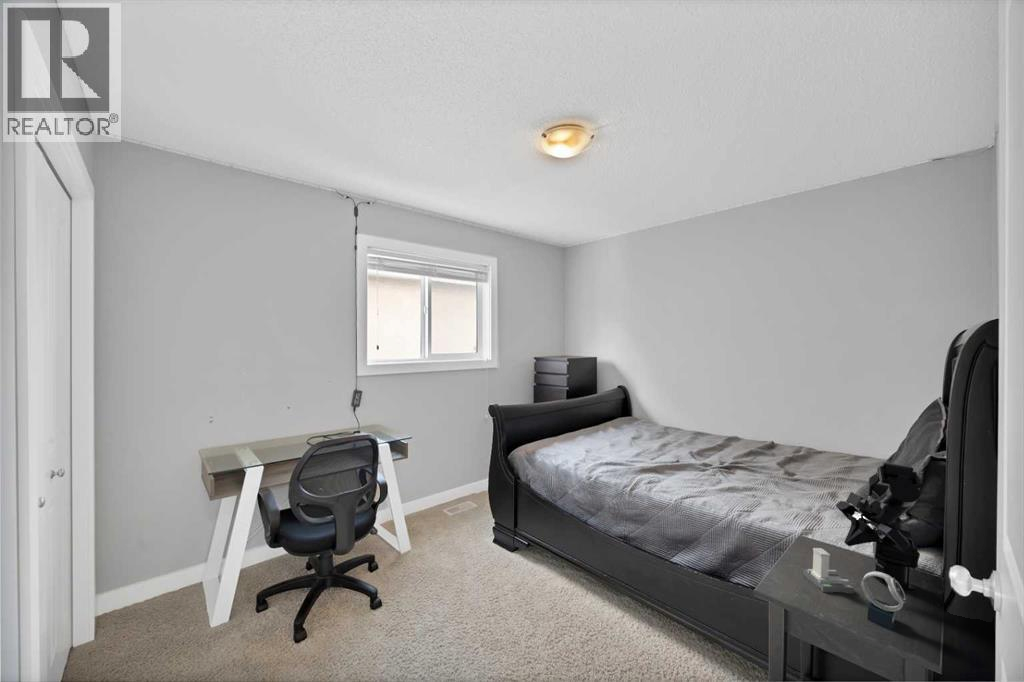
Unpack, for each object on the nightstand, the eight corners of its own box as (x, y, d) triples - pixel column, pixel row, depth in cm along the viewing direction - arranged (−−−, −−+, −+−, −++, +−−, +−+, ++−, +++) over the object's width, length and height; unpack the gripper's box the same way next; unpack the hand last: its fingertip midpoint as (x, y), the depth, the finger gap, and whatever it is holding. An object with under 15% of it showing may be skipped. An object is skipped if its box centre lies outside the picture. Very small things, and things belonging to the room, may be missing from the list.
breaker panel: (831, 575, 118) (832, 567, 118) (853, 593, 110) (854, 584, 110) (803, 574, 119) (803, 565, 119) (822, 592, 111) (823, 582, 111)
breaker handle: (821, 574, 116) (822, 548, 116) (830, 580, 113) (831, 554, 113) (810, 573, 116) (811, 547, 116) (818, 580, 113) (819, 554, 113)
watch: (903, 634, 96) (905, 587, 95) (858, 615, 102) (860, 571, 101) (906, 623, 99) (908, 578, 99) (862, 606, 105) (864, 563, 105)
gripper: (843, 473, 123) (803, 508, 124) (899, 498, 104) (852, 539, 105) (869, 501, 123) (829, 536, 123) (930, 531, 104) (883, 571, 105)
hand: (846, 544), depth 114 cm, fingers closed
